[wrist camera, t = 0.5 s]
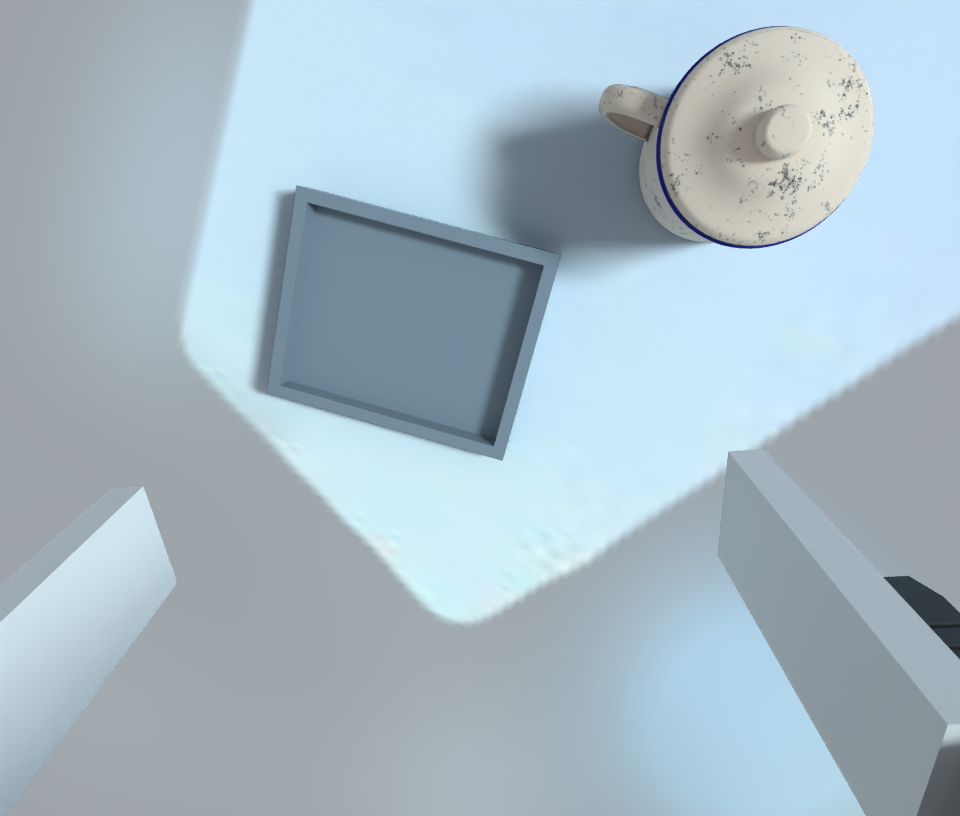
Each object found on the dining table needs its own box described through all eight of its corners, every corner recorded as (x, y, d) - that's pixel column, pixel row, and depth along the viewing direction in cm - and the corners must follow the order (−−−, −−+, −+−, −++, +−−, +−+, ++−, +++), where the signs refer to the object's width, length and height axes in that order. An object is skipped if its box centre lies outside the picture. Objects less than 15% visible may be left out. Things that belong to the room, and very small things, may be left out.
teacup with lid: (828, 113, 33) (967, 48, 21) (747, 269, 35) (834, 283, 24) (628, 34, 33) (664, -71, 22) (564, 195, 36) (566, 175, 24)
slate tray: (309, 188, 37) (296, 185, 35) (560, 254, 36) (560, 255, 35) (280, 386, 41) (266, 393, 40) (505, 450, 41) (502, 460, 39)
